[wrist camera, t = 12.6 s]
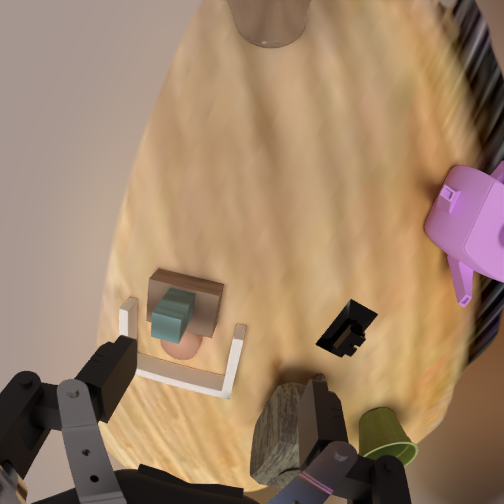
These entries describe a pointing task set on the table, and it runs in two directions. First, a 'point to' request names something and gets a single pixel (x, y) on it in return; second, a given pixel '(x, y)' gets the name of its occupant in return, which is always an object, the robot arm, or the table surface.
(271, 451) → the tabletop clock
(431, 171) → the table surface
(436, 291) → the table surface
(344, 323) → the black angular piece
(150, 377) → the frame
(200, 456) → the table surface
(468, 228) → the teakettle
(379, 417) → the plant pot
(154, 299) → the brown and teal block
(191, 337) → the pink rounded dome
